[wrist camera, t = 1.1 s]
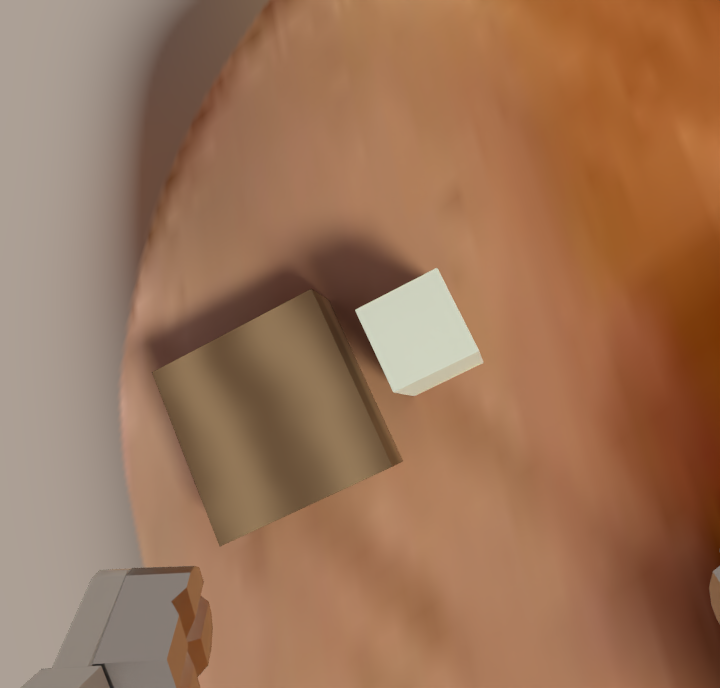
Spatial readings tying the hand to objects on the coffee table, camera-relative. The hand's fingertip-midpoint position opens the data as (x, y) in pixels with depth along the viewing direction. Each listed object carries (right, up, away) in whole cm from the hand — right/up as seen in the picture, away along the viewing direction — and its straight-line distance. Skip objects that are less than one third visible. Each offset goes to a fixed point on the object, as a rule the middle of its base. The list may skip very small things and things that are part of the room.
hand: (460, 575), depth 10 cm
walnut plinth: (-7, -1, +33) cm, 33 cm away
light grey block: (+3, +4, +31) cm, 32 cm away
